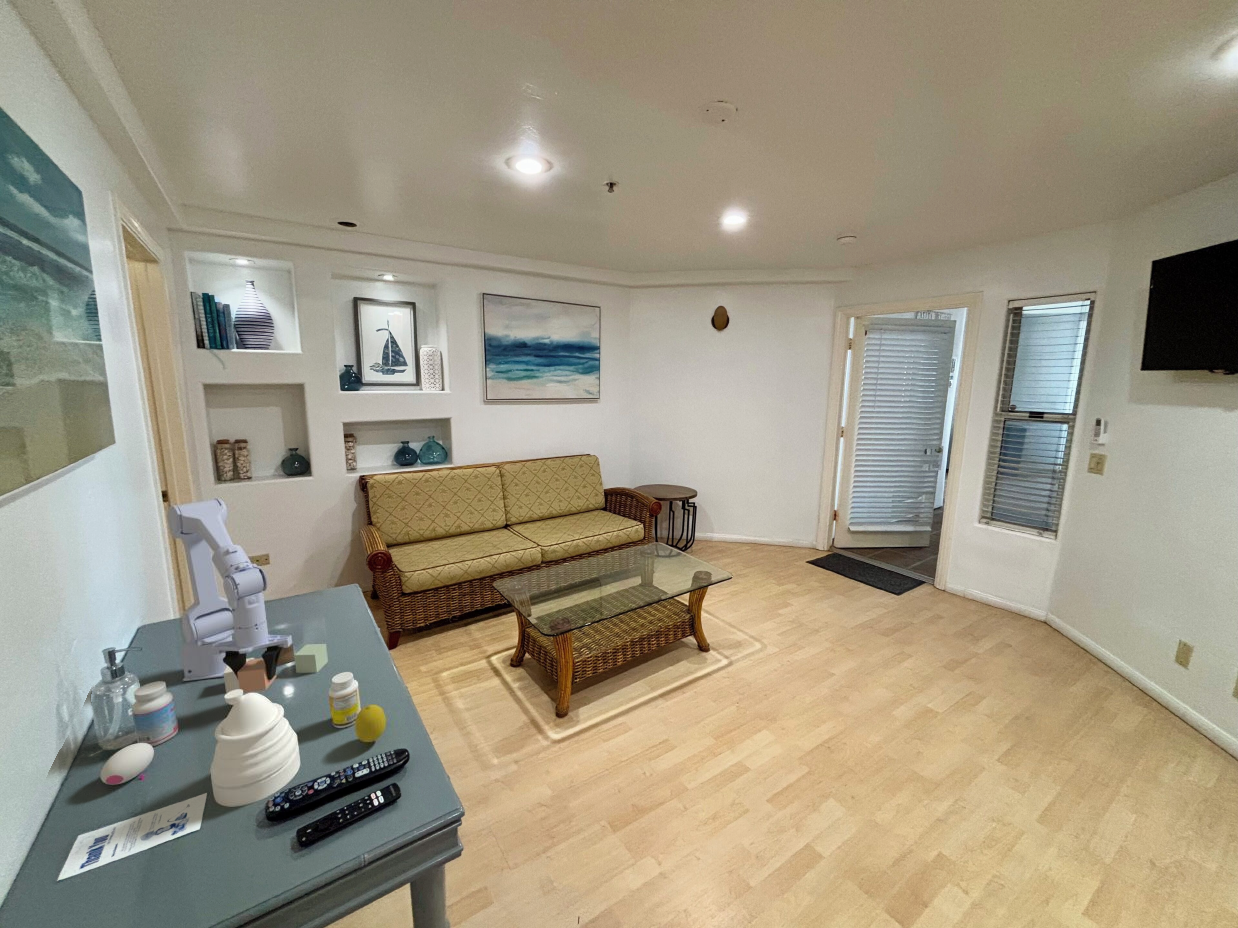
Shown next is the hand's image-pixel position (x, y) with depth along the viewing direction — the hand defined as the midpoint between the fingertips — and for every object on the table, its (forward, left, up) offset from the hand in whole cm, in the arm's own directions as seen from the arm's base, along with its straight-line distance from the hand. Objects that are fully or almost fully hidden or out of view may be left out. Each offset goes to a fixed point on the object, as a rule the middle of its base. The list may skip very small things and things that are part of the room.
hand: (257, 678), depth 109 cm
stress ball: (-14, -19, -6) cm, 24 cm away
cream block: (-8, +9, -6) cm, 13 cm away
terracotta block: (0, 0, -1) cm, 1 cm away
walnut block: (-3, +18, -6) cm, 19 cm away
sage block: (+6, +13, -6) cm, 16 cm away
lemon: (+28, -19, -6) cm, 34 cm away
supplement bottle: (+21, -11, -6) cm, 24 cm away
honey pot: (+10, -24, -6) cm, 27 cm away
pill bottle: (-15, -8, -6) cm, 18 cm away
